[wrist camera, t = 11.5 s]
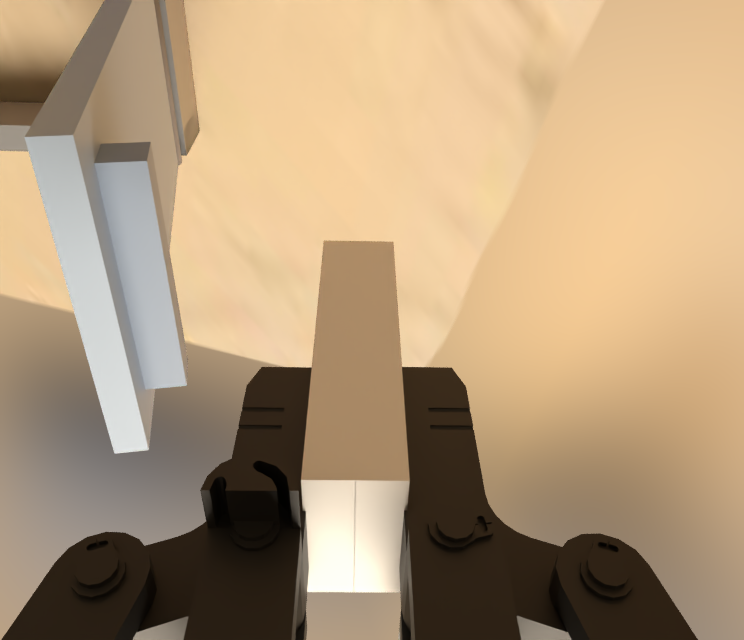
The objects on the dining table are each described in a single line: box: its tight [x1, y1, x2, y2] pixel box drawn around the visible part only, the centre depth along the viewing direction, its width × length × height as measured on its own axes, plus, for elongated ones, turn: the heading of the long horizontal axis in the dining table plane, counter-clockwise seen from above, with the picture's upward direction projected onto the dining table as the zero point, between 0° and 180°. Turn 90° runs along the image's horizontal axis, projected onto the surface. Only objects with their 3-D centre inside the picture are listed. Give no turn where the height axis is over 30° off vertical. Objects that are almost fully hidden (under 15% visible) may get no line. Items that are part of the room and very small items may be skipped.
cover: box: [25, 0, 188, 453], centre depth 21 cm, size 8×18×2 cm
